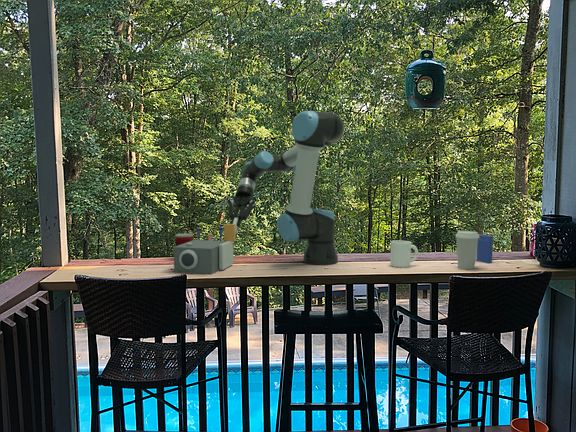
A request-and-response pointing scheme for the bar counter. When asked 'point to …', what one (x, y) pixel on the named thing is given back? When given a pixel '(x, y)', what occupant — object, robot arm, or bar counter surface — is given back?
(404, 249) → the mug
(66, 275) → the bar counter surface
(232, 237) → the door
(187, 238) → the canned food
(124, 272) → the bar counter surface
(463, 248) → the coffee cup
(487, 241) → the walkman
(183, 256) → the camera housing
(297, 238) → the robot arm
